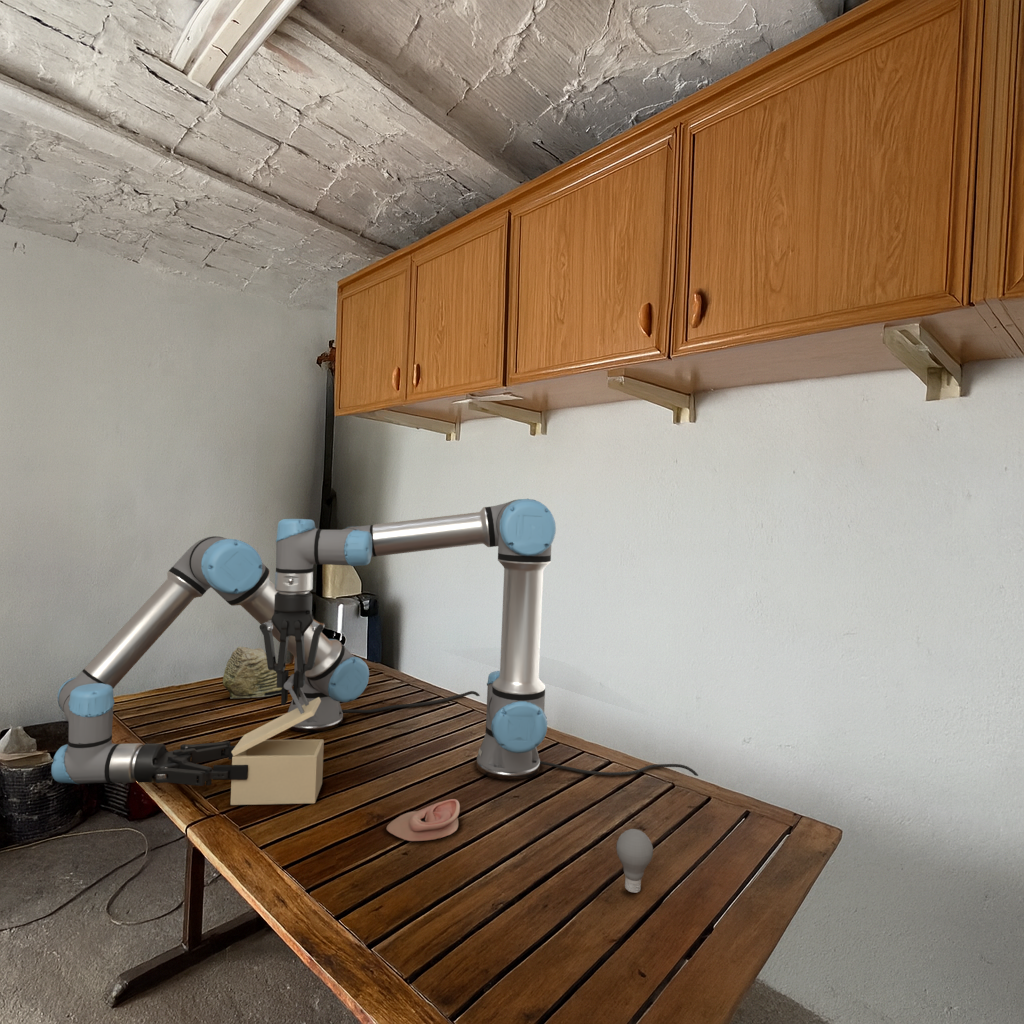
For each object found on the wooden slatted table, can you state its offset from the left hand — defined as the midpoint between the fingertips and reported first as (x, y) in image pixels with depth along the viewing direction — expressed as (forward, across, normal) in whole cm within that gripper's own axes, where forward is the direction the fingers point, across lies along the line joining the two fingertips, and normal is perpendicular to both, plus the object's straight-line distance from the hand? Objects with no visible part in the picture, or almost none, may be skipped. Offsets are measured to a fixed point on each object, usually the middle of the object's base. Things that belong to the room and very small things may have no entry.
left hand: (254, 761), depth 133 cm
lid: (+5, 0, +7) cm, 9 cm away
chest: (+5, 0, -7) cm, 9 cm away
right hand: (+7, 0, +13) cm, 14 cm away
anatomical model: (+36, +15, -7) cm, 40 cm away
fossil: (-17, -67, -7) cm, 70 cm away
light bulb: (+71, +38, -7) cm, 80 cm away
